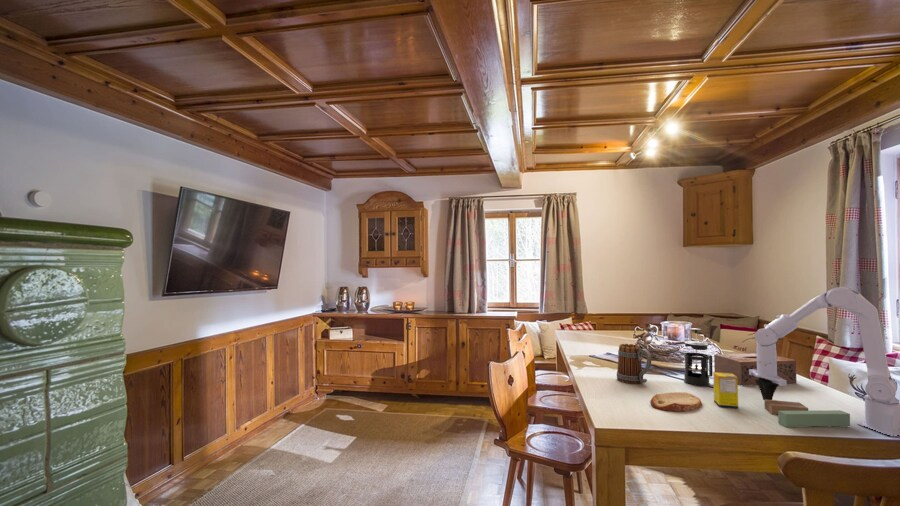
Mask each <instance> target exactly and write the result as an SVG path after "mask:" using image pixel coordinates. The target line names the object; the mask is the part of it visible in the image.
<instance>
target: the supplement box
mask: <svg viewBox="0 0 900 506" xmlns="http://www.w3.org/2000/svg"><path fill="white" fill-rule="evenodd" d="M712 377H713V378H712V379H713V402H714V403H715V405H716V406H717V407H719V408H731V409H739V394H738V393H739V392H738V391H739V390H738V389H739V388H738V386H739V385H738V381H737V377H736V376H735V375H733V374H732V373H720V372H715V371H713V376H712Z"/></svg>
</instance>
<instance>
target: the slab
mask: <svg viewBox="0 0 900 506" xmlns="http://www.w3.org/2000/svg"><path fill="white" fill-rule="evenodd" d="M763 401H764V410H765V411H767V412H768V413H769V414H770V415H772V416H773V415H774V416H778V411H809V408H808V407H807V406H806V405H804V404H803V403H801V402H799V401H787V400H786V401H785V400H776V399H772V400H766V399H764V400H763Z"/></svg>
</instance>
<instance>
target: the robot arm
mask: <svg viewBox="0 0 900 506" xmlns="http://www.w3.org/2000/svg"><path fill="white" fill-rule="evenodd" d="M831 307H835V308H837V309H841V310H845V311H847V312H849V313H850V314H853V315H854V316H856V317H857V320H858V325H859V331H860V336H861V337H860V339H861V342H862V349H863V353H864V358H865V364H866V365H865V366H866V374H867V381H866V382H867V383H866V384H865V389H864V391H865V392H866V394H865V395H864V410H865V411H864V413H865V417H864V418H865V422H864V421H863V422H856V424H857V425H858V424H859V426H861V427H864V426H865V427H864V428H866V427H868V428H867V429H869V428H871V429H873V430H872V431H874V430H876V431H875V432H877V431H878V432H877V433H879V432H881V433H880V434H882V433H884V434H887V435H899V436H898V437H900V400H899V398H897V397H896V396H897V395H896V394H897V390H898V386H897V383H896V382H895V380H894V379H893V377H892V375H891V372H890V371H891V370H890V369H889V363H888V360H887V355H886V348H885V344H884V343H885V342H884V338H883V333H882V327H881V321H880V317H879V311H878V308H876V307H875V305H873V304H872V303H871V302H870V301H869V300H867V298H865V297H864V296H863V295H862V294H861V293H860V292H859V291H857V290H855V289H852V288H850V287H847V286H837V287H833V288H831V289H829V290H828V291H826V292H824V293H821V294H819V295H817V296H816V297H814V298H812V299H810V300H809V301H807V302H806V303H804V304H803V305H802V306H801V307H799V308H798V309H796V310H795V311H793V312H792V313H791V314H784V313H783V314H781V315H780V314H779V315H778V314H777V315H776V316H775V319H774V320H772V321H771V322H770V323H768V324H767V323H765V324H764V325H763V327H764V328H760V329H758V330H757V331H756V332H755V333H754V335H753V336H754V340H755V341H756V353H757V370H754V369H753V370H749V375H754V376H756V377H759V379H755V382H756V383H757V385H756V386H757V387H758V389H759V391H760V394H761V397H762V400H763V401H764V399H766V400H773V397H774V394H775V393H776V391H777V388H778V387H779V386H781V387H787V385H788V384H787V380H784V379H782V378H781V377H779V376H777V356H778V354H777V342H778V341H779V339H782V338H784V337H785V336H787V335H788V334H790V333H791V332H793V331H794V330H797V329H798V327H799V325H798V324H799V322H800V321H802V320H804V319H806V318H807V317H809V316H810V315H812V314H814V313H815V312H817V311H818V310H820V309H826V308H831ZM871 429H870V430H871ZM884 434H883V435H884ZM887 435H886V436H887Z"/></svg>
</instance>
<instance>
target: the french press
mask: <svg viewBox="0 0 900 506" xmlns="http://www.w3.org/2000/svg"><path fill="white" fill-rule="evenodd" d="M690 331H694V334H695V340H688V341H687V340H685V341H684V342H683V344H685V347H686V348H687V347H691V349H693V350H695V352H690V351H689V352H684V353H683V357H684V373H683V374H684V380H683V382H684V383H685V384H687V385H690V386H695V387H710V385H711V383H710V377H713V372H714V371H713V355H711V354H705V353H701V352H698V351H707V350H708V346H709V343H707V342H703V341H697V340H698V339H697V334H698V331H702V329H701V328H697V327H696V328H695V327H694V328H692V327H691V328H690ZM693 360H694V361H695V365H693ZM698 361H700V365H698ZM698 372H699V373H698Z"/></svg>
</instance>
